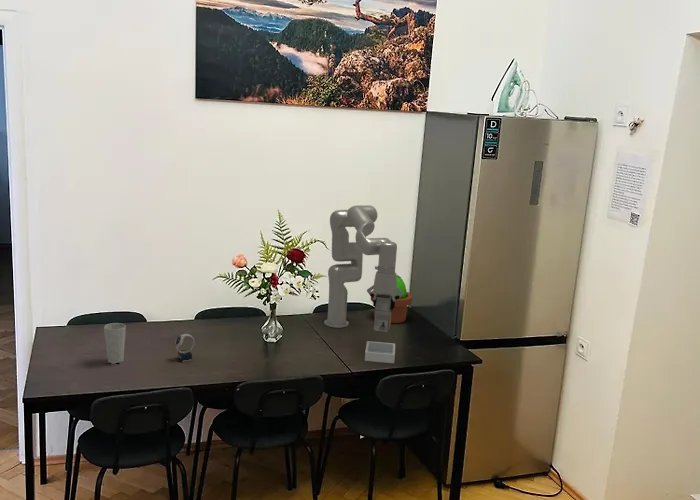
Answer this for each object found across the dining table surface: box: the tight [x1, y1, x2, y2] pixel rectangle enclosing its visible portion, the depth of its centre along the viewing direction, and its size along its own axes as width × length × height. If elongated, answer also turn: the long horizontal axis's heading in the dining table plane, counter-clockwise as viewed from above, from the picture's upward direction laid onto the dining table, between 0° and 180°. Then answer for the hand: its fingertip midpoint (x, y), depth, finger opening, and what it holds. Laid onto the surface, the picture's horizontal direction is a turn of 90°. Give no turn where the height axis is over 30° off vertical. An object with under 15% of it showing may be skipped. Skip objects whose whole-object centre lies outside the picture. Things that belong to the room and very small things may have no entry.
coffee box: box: [373, 295, 392, 333], centre depth 274 cm, size 9×6×16 cm
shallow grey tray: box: [364, 340, 396, 364], centre depth 278 cm, size 14×13×4 cm
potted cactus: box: [370, 274, 413, 324], centre depth 329 cm, size 22×22×25 cm
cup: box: [103, 322, 127, 363], centre depth 253 cm, size 8×8×16 cm
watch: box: [174, 333, 196, 362], centre depth 260 cm, size 6×8×11 cm
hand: (383, 308), depth 273 cm, fingers closed on coffee box, 6 cm apart
